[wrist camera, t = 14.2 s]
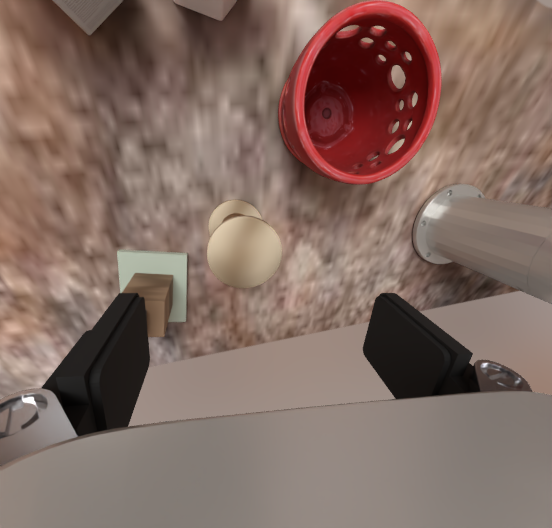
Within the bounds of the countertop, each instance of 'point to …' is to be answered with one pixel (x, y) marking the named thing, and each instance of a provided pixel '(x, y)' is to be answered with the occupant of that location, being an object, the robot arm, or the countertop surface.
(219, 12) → the jar
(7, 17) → the countertop surface
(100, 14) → the small box
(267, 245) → the cream drawer knob
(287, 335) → the countertop surface
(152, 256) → the board
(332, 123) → the plant pot
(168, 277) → the block
